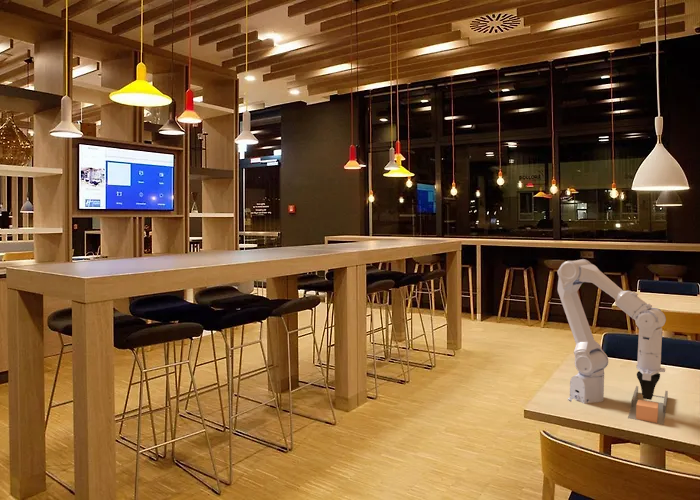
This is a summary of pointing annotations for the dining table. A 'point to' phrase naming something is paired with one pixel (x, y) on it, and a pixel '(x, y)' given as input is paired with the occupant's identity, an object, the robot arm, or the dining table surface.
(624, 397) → the dining table surface
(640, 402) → the block
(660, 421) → the channel
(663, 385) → the dining table surface
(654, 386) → the robot arm
